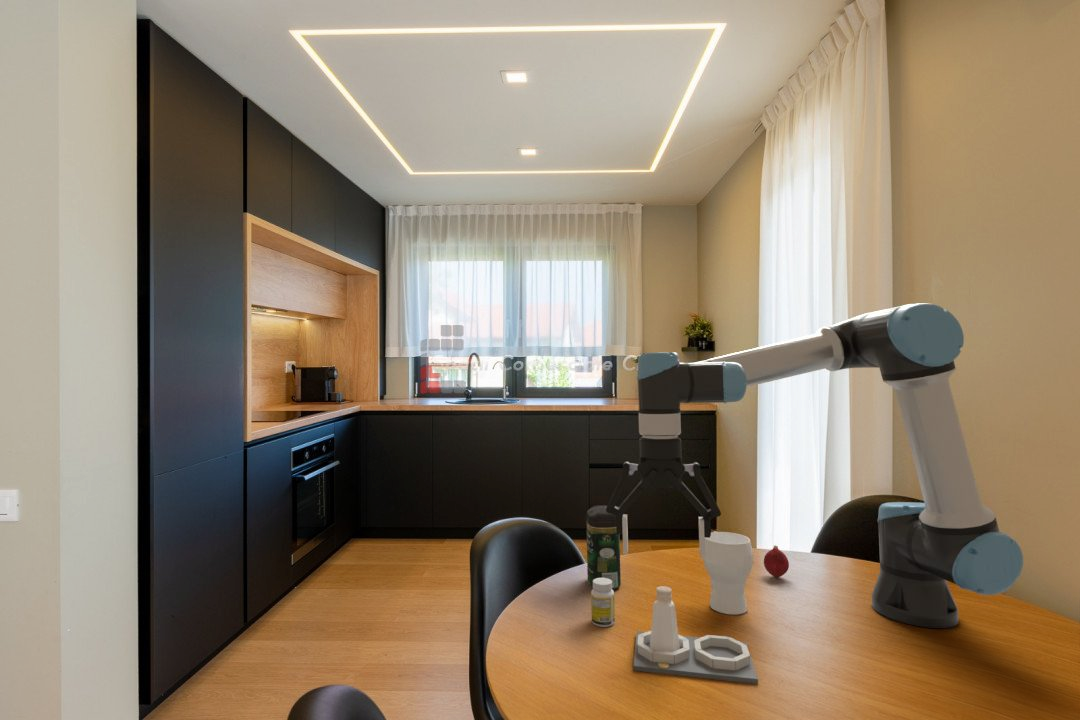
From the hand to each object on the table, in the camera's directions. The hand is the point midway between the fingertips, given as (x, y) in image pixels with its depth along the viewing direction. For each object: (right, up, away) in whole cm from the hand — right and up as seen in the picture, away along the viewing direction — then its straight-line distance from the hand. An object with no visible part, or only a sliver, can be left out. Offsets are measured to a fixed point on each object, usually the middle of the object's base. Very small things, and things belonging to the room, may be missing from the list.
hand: (663, 553), depth 98 cm
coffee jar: (-7, -20, +33) cm, 39 cm away
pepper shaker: (0, -17, -1) cm, 17 cm away
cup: (+19, -19, +20) cm, 33 cm away
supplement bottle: (-10, -19, +13) cm, 25 cm away
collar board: (+5, -18, -2) cm, 19 cm away
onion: (+37, -20, +37) cm, 56 cm away
